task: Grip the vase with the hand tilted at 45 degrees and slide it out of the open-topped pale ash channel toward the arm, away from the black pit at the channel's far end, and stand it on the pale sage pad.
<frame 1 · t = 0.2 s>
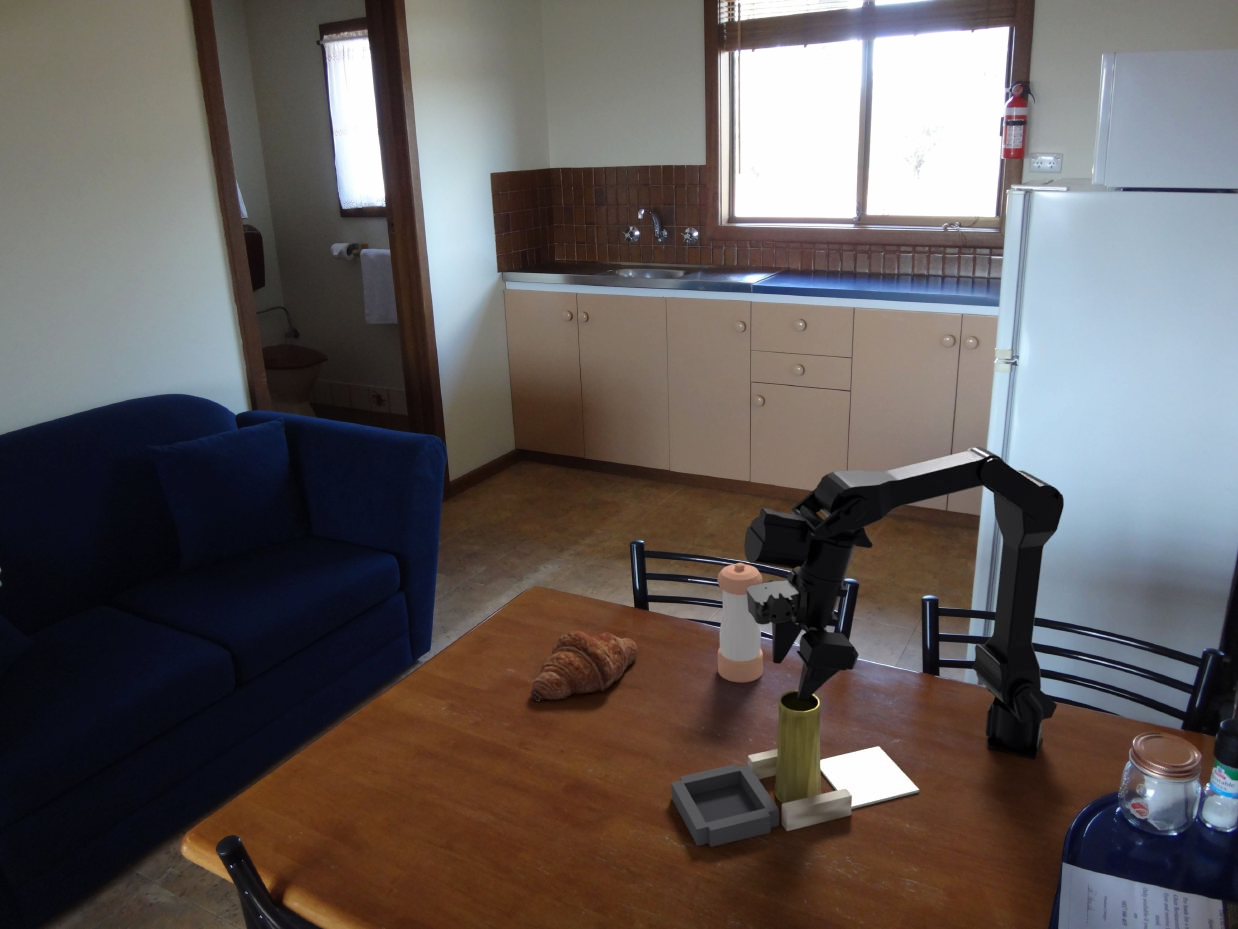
hand: (788, 680, 123), 15 cm above the table, tool tilted 15°, fingers open, 9 cm apart
channel: (797, 793, 125), on the table
salt shaker: (740, 671, 155), on the table
vase: (797, 795, 125), on the table
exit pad: (865, 777, 128), on the table
pit: (723, 811, 123), on the table
pastry: (587, 677, 156), on the table
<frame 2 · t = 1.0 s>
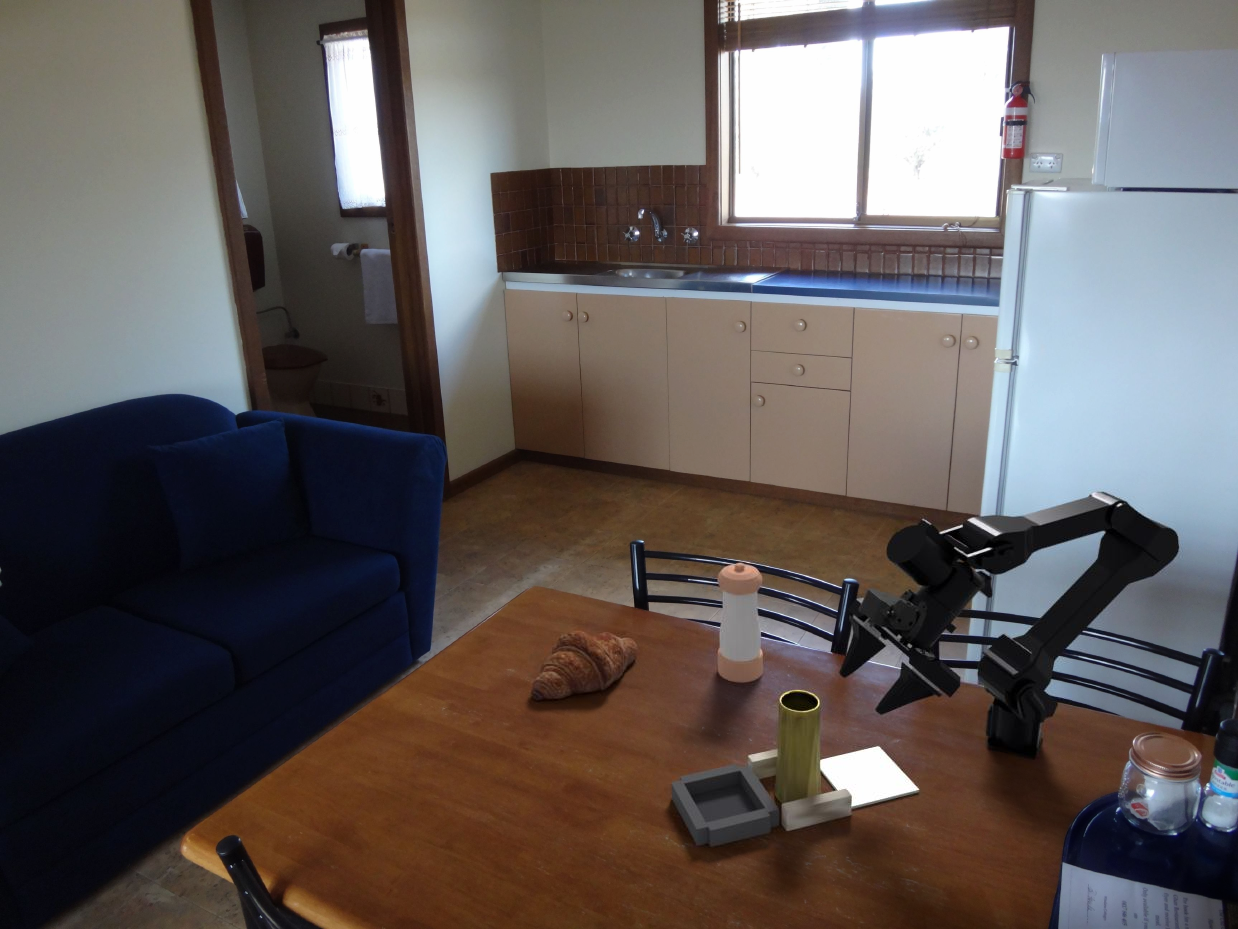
hand: (859, 693, 123), 13 cm above the table, tool tilted 45°, fingers open, 9 cm apart
nothing on the table moved.
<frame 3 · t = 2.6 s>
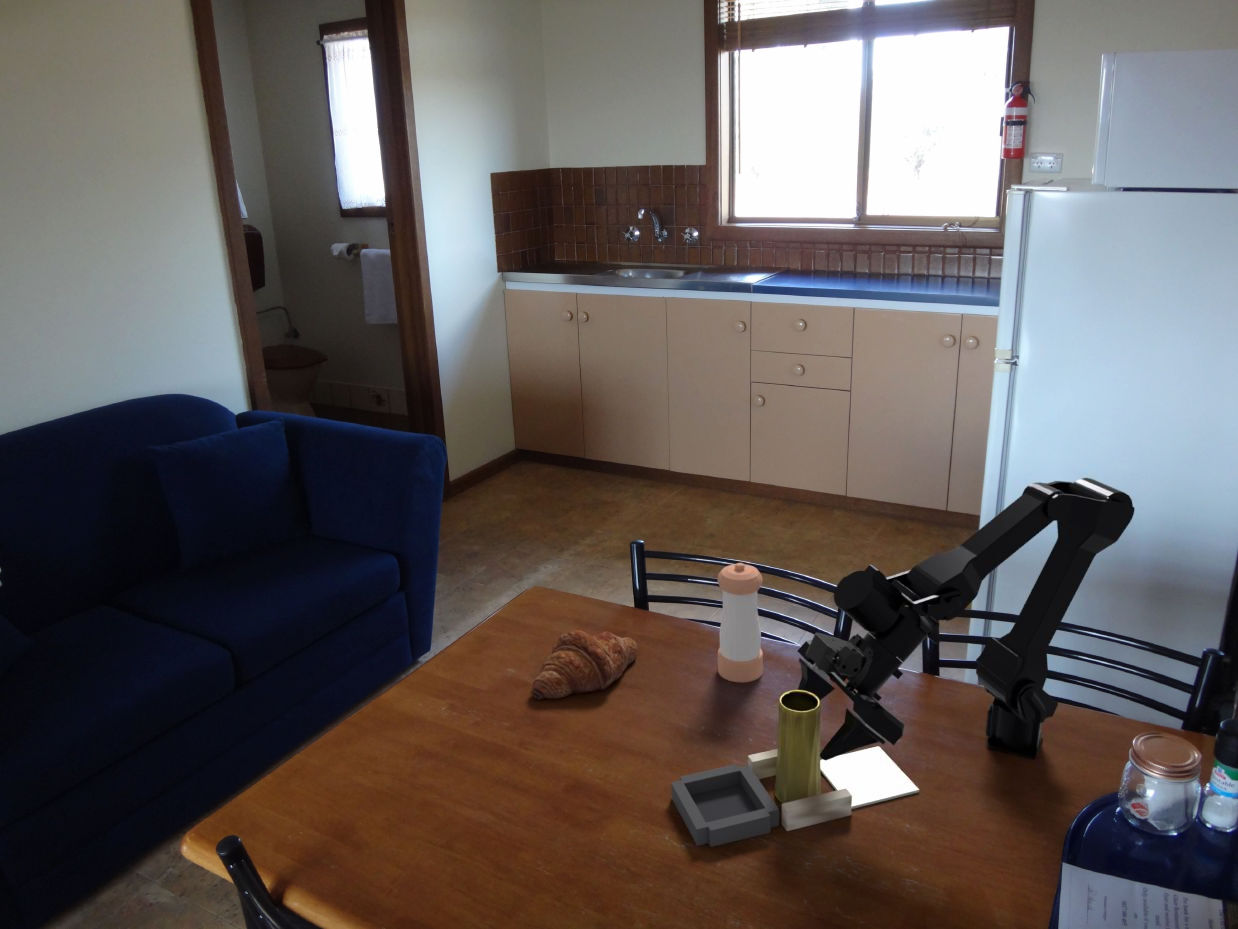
hand: (805, 737, 123), 8 cm above the table, tool tilted 45°, fingers open, 9 cm apart
nothing on the table moved.
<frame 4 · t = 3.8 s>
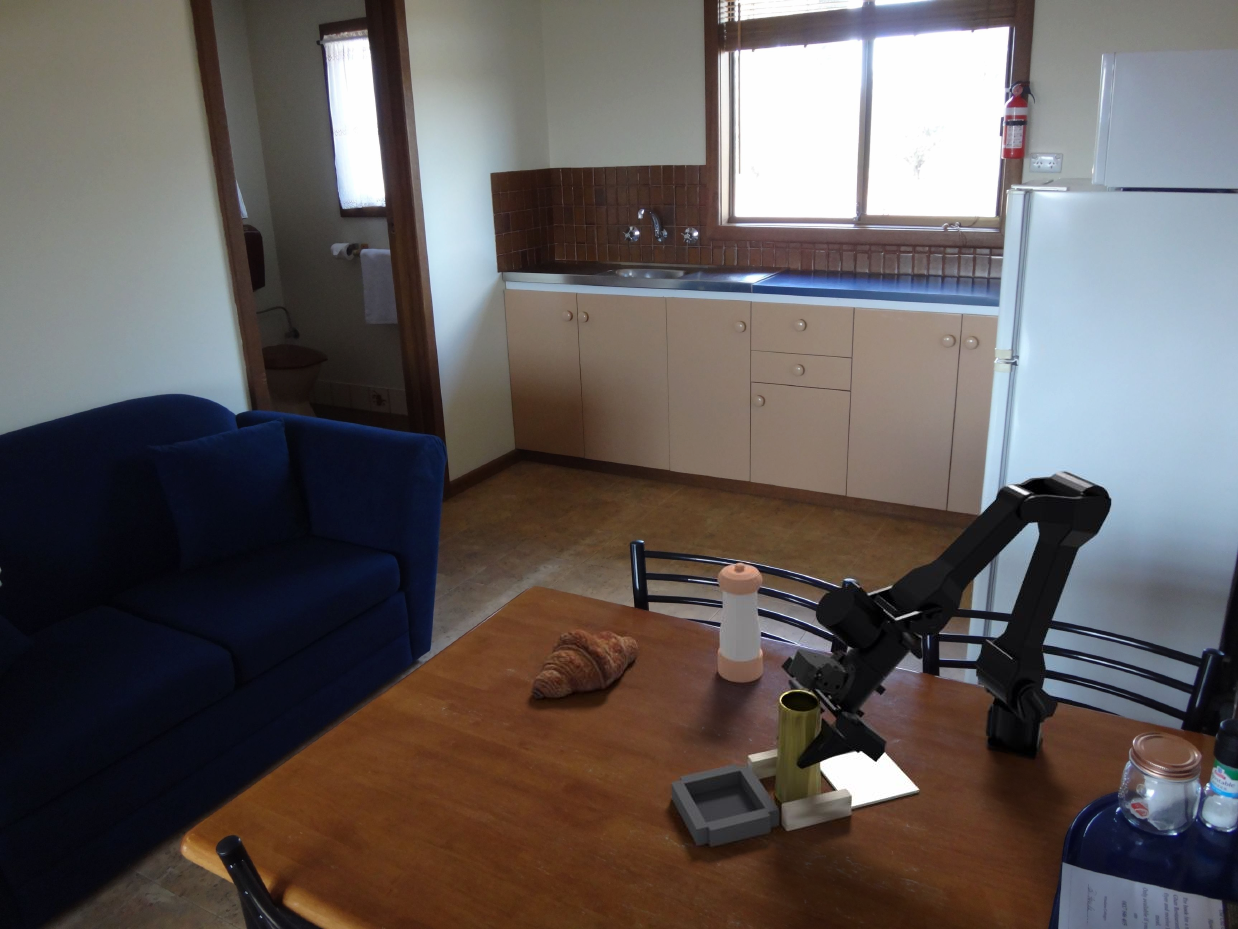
hand: (788, 753, 123), 7 cm above the table, tool tilted 45°, fingers closed on vase, 5 cm apart
vase: (797, 795, 125), on the table, touching gripper
everything else where it was.
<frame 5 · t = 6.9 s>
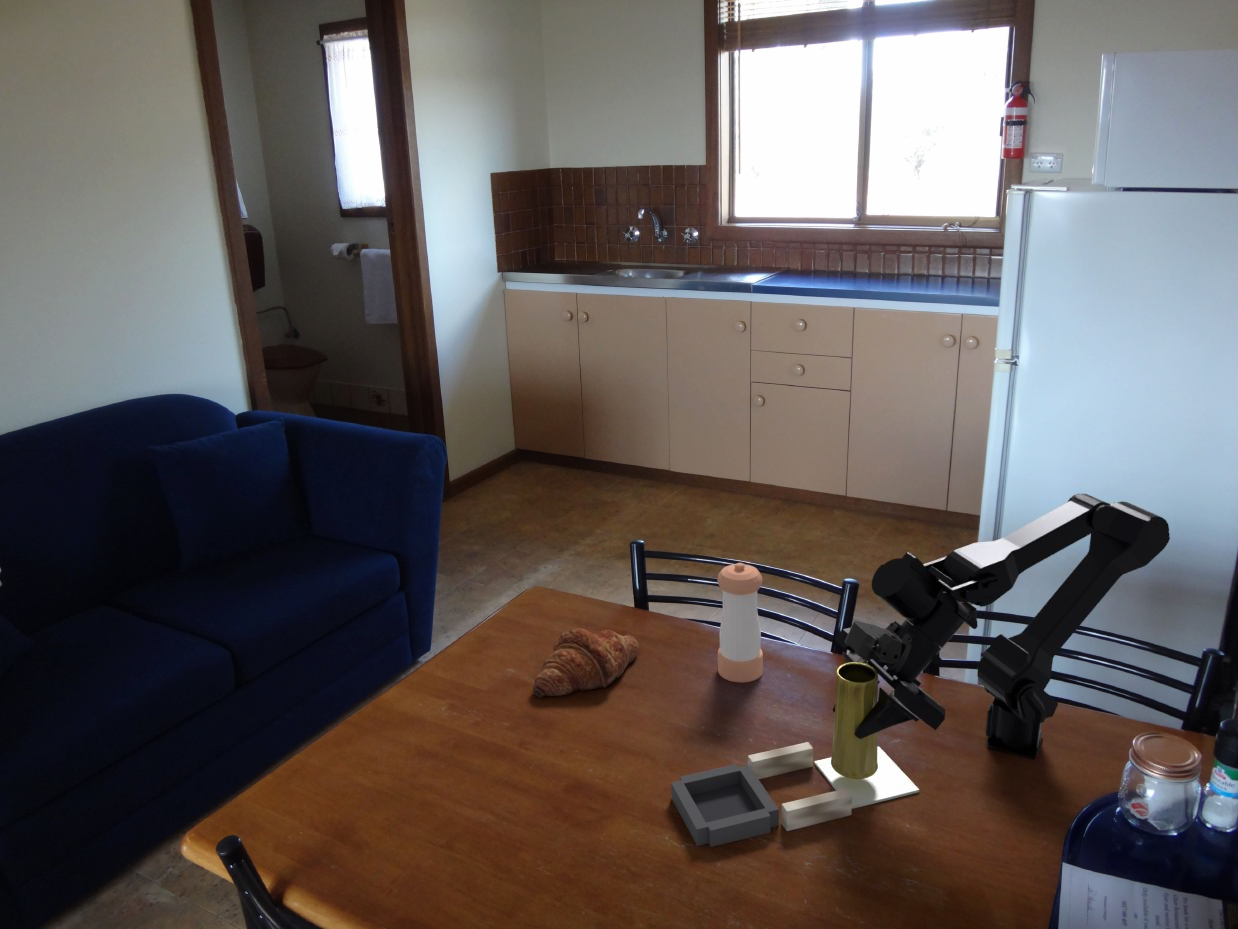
hand: (845, 724, 124), 9 cm above the table, tool tilted 45°, fingers closed on vase, 5 cm apart
vase: (854, 767, 127), point 2 cm above the table, touching gripper
everything else where it was.
when the fingers open (8 cm above the table, at t = 8.4 s): vase stays where it is, resting on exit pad.
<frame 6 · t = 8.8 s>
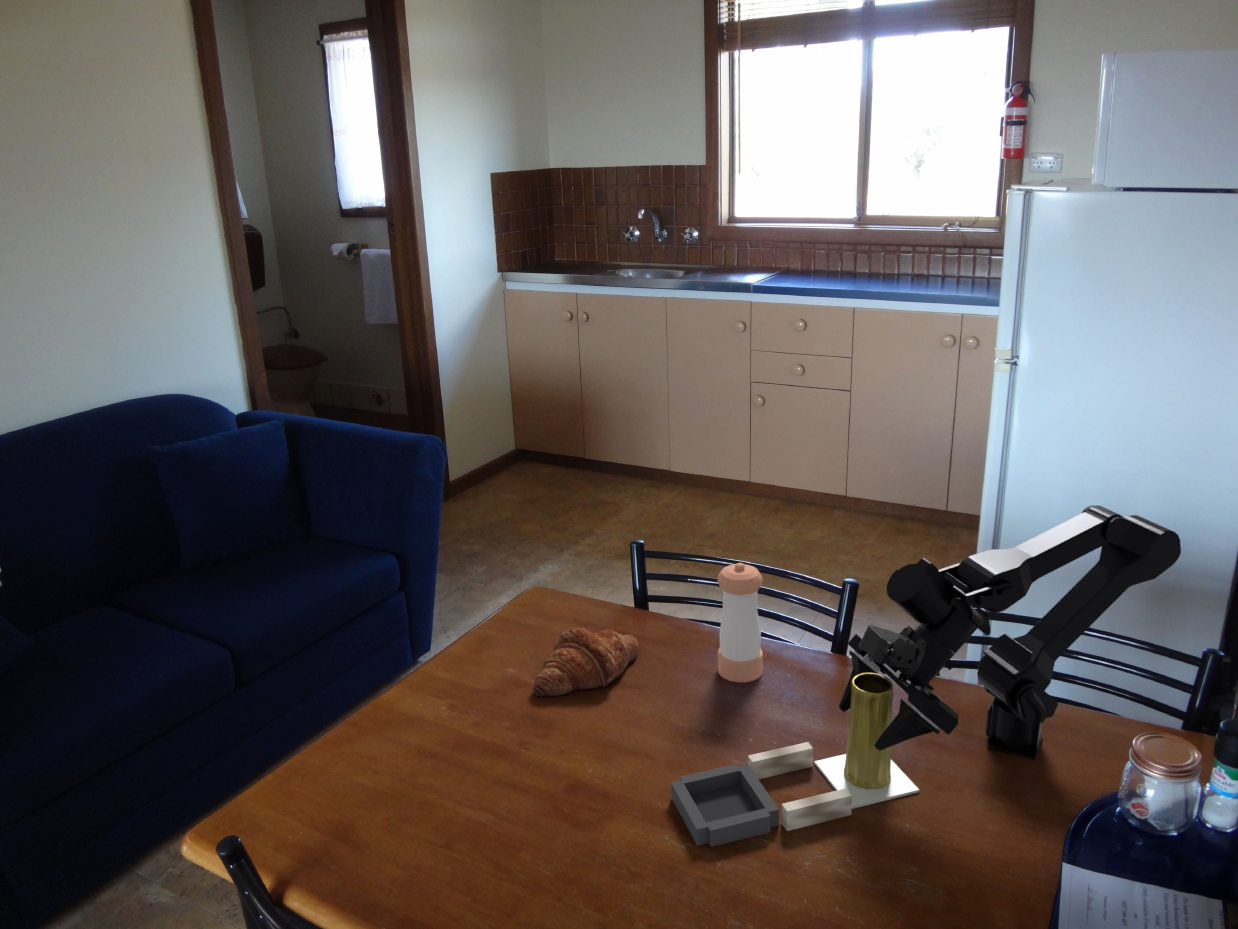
hand: (858, 728, 125), 8 cm above the table, tool tilted 45°, fingers open, 9 cm apart
vase: (867, 776, 128), resting on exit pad
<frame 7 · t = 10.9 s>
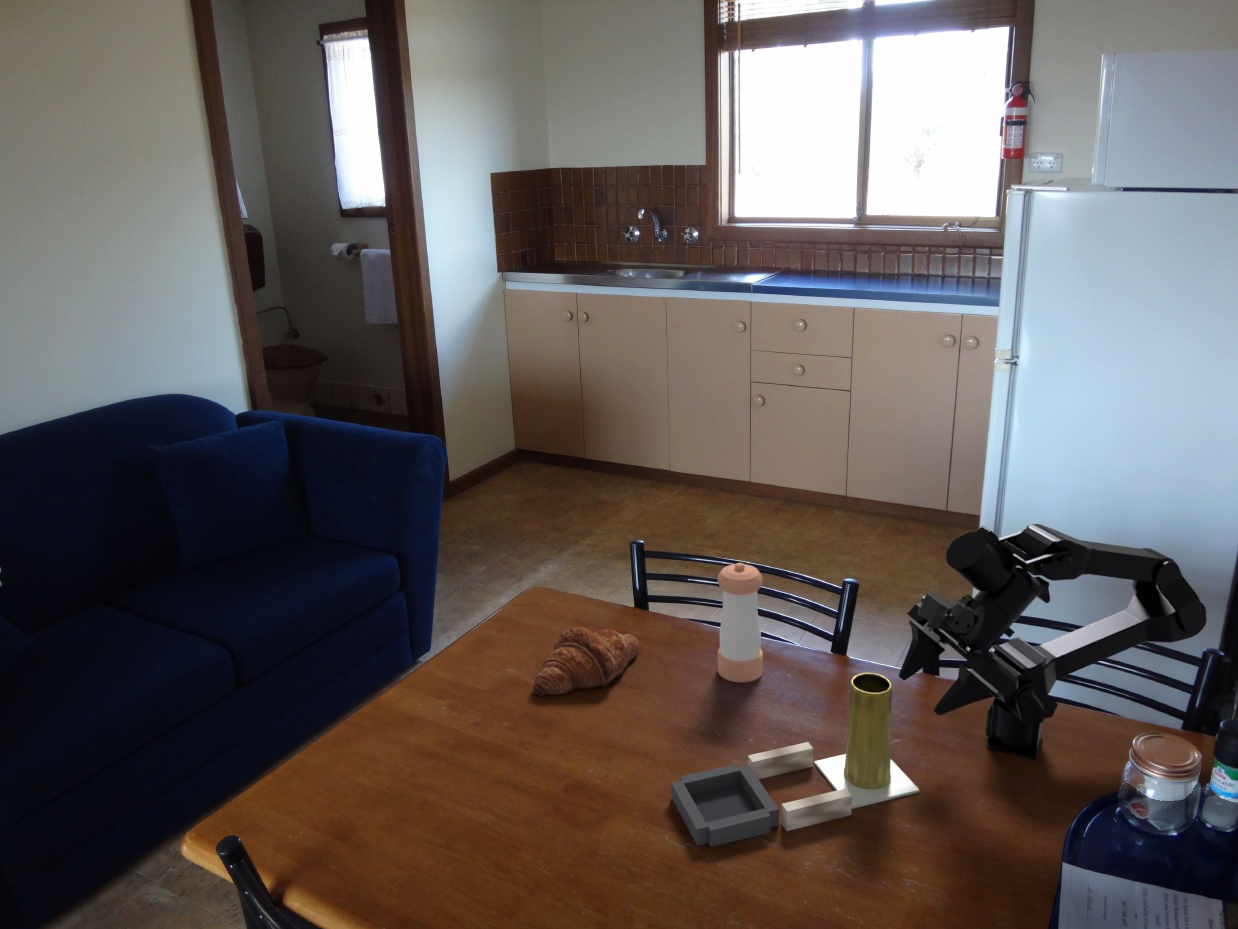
hand: (918, 695, 127), 11 cm above the table, tool tilted 45°, fingers open, 9 cm apart
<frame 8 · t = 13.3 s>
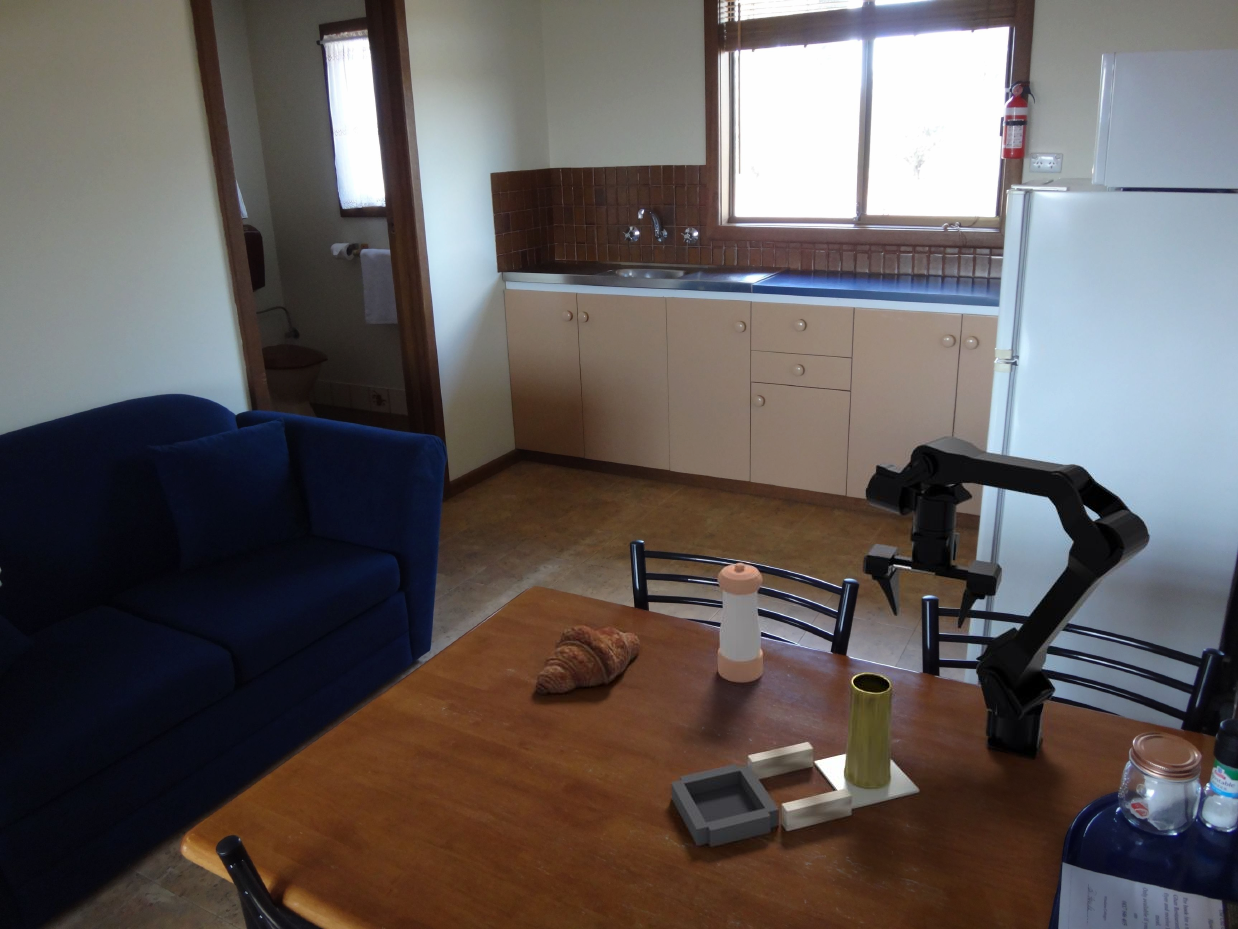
hand: (927, 620, 141), 13 cm above the table, tool pointing down, fingers open, 9 cm apart
at the end: vase 0.2 cm from the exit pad (horizontally); vase tilted 0°; the gripper is holding nothing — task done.
